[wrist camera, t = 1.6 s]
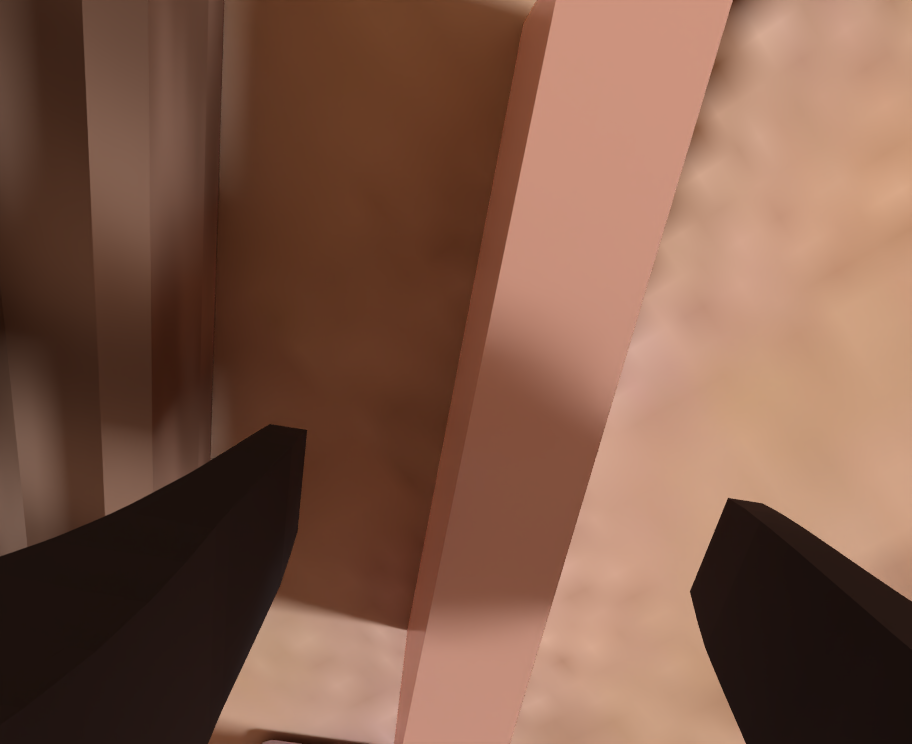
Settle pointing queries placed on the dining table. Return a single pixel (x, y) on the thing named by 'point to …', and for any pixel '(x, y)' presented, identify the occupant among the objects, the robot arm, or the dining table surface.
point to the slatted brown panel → (105, 254)
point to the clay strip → (547, 340)
